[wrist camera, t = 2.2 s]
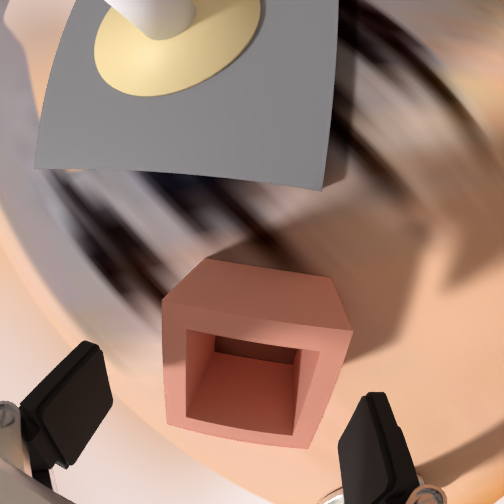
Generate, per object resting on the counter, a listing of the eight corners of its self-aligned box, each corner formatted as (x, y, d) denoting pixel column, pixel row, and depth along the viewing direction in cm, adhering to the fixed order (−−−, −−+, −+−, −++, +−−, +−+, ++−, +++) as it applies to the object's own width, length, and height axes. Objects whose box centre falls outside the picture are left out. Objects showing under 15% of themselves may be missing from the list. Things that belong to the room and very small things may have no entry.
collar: (330, 277, 15) (353, 331, 10) (304, 378, 17) (308, 448, 11) (204, 258, 16) (162, 299, 10) (198, 360, 18) (167, 424, 12)
